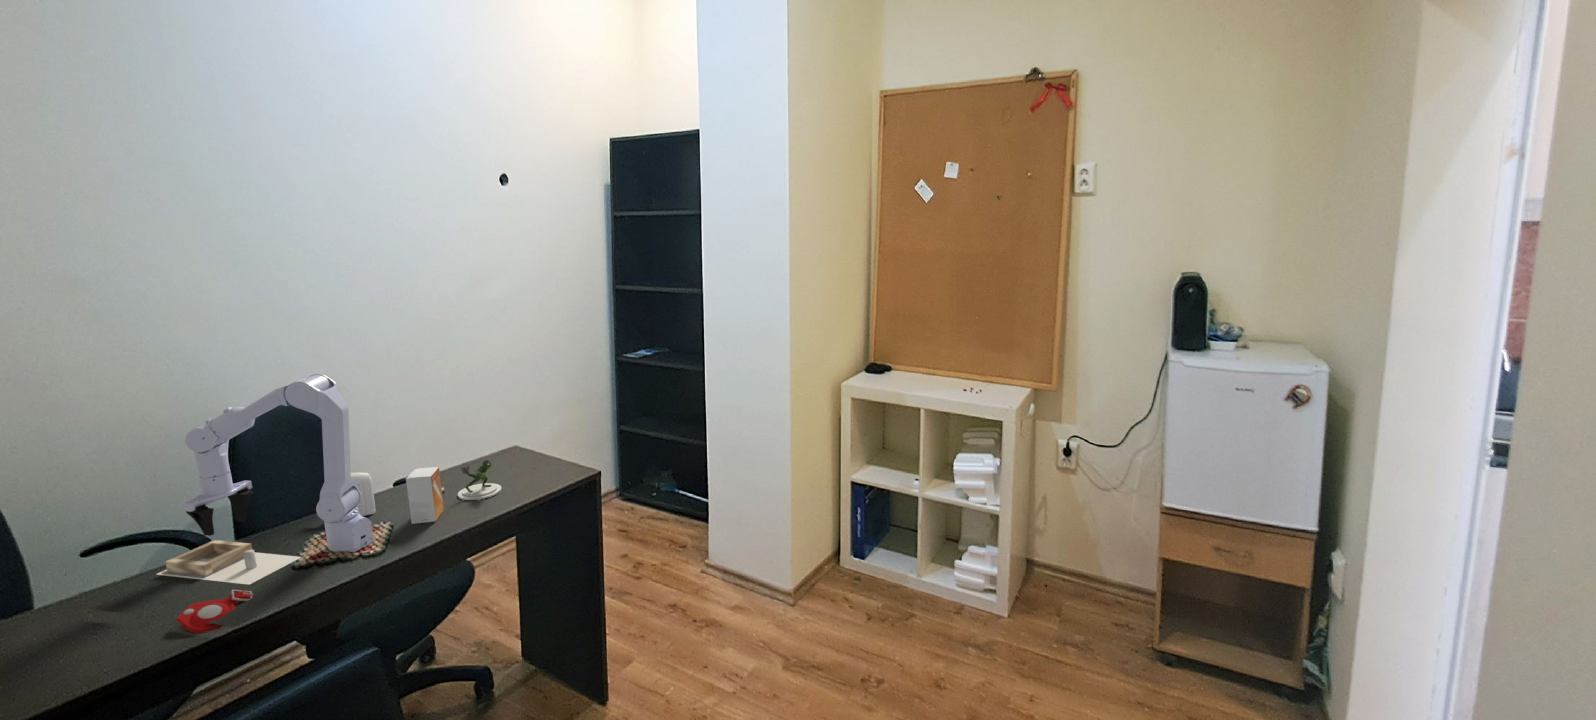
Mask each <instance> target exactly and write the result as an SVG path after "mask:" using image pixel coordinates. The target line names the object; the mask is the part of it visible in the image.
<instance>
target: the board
mask: <svg viewBox="0 0 1596 720" xmlns="http://www.w3.org/2000/svg"><path fill="white" fill-rule="evenodd" d="M222 554H223V553H213V554H211V555H209V556H207V557H204V558H202V559H200V560H198V561H201V562H207V561H209V560H211V559H213V558H215V557H218V556H220V555H222ZM243 555H244V558H242V559H240V560H238V561H236V562H234V563H232V564H230V565H227V566H225V567H223V568H221V569H219V570H217V571H215V572H213V573H211V574H209V575H207V576H205V575H195V574H186V573H177V572H167V568H166V569H165V570H162V571H160V572H158V573H156V574H155V575H156V576H157V575H158V576H166V577H176V578H184V579H193V580H194V579H195V580H204V581H214V582H220V583H221V582H223V583H231V584H239V585H252V584H253V583H256V582H258V581H259V580H261V579H263V578H265V577H267V576H269V575H271V574H273V573H274V572H276V571H278V570H280V569H282V568H284V567H286V566H288V565H289V564H292V563H294V562H295V561H297V560H299V559H301V558H302V556H295V555H285V554H277V553H276V554H275V553H266V552H255V550H254V549H252V550H247V551H245V552H243Z"/></svg>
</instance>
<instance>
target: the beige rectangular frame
mask: <svg viewBox="0 0 1596 720" xmlns="http://www.w3.org/2000/svg"><path fill="white" fill-rule="evenodd" d="M247 550H253V546H252V543H251V542H250V543H248V542H239V541H229V540H227V541H226V540H219V539H218V540H215V539H214V540H213V539H212V540H211V541H208V542H207V543H204V544H202V545H199V546H198V547H195V548H193V549H191V550H189V551H186V552H184V553H182V554H179V555H177V556H175V557H172V558H170V559H168V560H166V561H165V566H166V569H167V572H177V573H186V574H195V575H205V576H207V575H209V574H211V573H213V572H215V571H217V570H219V569H221V568H223V567H225V566H227V565H230V564H232V563H234V562H236V561H238V560H240V559H242V558H244V555H243V552H245V551H247ZM213 553H223V554H222V555H220V556H218V557H215V558H213V559H211V560H209V561H207V562H201V561H198V560H200V559H202V558H204V557H207V556H209V555H211V554H213Z"/></svg>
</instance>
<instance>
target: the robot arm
mask: <svg viewBox="0 0 1596 720" xmlns="http://www.w3.org/2000/svg"><path fill="white" fill-rule="evenodd" d="M337 383H338V382H336V381H335V380H333V379H332V378H330V377H329V376H327V375H325V374H322V373H313V374H311V375H309V376H307V377H306V378H302V379H299V380H296V381H294V382H290V383H288V384H285V385H282V386H281V387H278V388H276V389H274V390H271V392H269V393H267V394H265V395H264V396H262V397H260V398H259V399H257V400H256V401H254V402H252V403H251V404H249V405H247V406H246V407H244V406H234V407H232V406H229V407H227V408H225V409H223V410H222V412H223V413H222V414H220V415H218V416H216V417H215V418H209V419H207V420H205V422H204V423H205V424H203V425H200V426H199V427H194V428H192V429H191V430H190V431H188V432H187V433H186V435H185V438H184V439H185V440H184V441H185V444H186V447H188V449H190V450H191V451H192V452H193V453H194V459H195V463H196V468H197V474H198V478H199V479H198V480H199V482H200V488H201V494H199V495H197V496H195V497H193V498H191V499H190V500H187V501H185V502H182V505H183V510H184V512H185V513H186V514H187V515H188V516H190V518H192V520H194V521H195V523H196V525H198V527H199V528H200V529H201V532H202V534H203V535H204V536H209V537H211V536H214V535H215V528H214V524H213V523H214V522H213V520H214V519H213V518H214V517H213V515H214V508H213V507H209V506H207V505H210V504H213V503H214V502H217V501H220V500H222V499H225V498H227V499H228V500H229V502H230V504H231V508H232V511H233V516H234V519H235V521H236V522H240V523H244V522H246V520H247V519H246V518H247V517H246V516H247V511H248V506H249V504H250V500H251V499H252V497H253V495H254V492H253V491H252V490H251V489H253V485H252V483H253V482H252V480H242V481H238V482H235V483H233V477H232V472H231V469H230V468H231V467H230V463H229V457H228V456H229V455H228V451H227V449H228V446H227V443H228V442H229V440H231V439H233V438H235V437H236V436H238V435H240V434H243V432H245V431H247V430H248V429H250V428H252V427H253V426H254V425H255V422H256V418H259V417H260V416H261V415H264V414H265V413H267V412H269V411H271V410H274V409H275V408H277V407H279V406H285V407H288V406H290V405H291V406H292V407H294V408H296V409H298V410H303V411H305V412H308V413H311V414H314V415H315V416H317V417H318V418H320V419H321V433H322V451H323V452H322V453H323V454H322V455H323V473H324V474H323V476H324V477H323V478H324V483H323V484H322V487H321V489H320V492H319V501H318V502H317V504H316V508H315V511H316V515H317V517H319V518H320V520H322V521H323V522H324V523H323V524H324V528H325V529H324V530H325V536H326V542H327V549H328V550H329V551H331V552H352V553H355V552H357V551H359V550H361V549H363V548H366V547H367V546H368V545H370V544H372V543H373V542H375V538H374V532H373V526H372V525H373V524H372V521H371V520H370V519H369V518H368V517H365V516H361V515H360V514H359V511H358V507H357V505H358V504H359V502H360V500H361V493H360V491H359V489H358V487H357V481H356V480H355V479H353V478H352V477H351V473H352V472H351V449H350V448H351V446H350V445H351V443H350V441H351V440H350V421H349V418H350V417H349V407H348V404H347V403H346V402H345V400H344V398H343V396H342V395H341V393H340V392H339V390H338V384H337Z"/></svg>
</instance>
